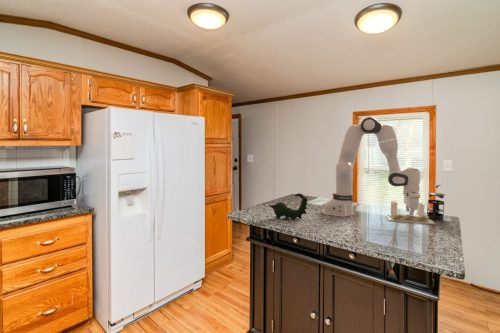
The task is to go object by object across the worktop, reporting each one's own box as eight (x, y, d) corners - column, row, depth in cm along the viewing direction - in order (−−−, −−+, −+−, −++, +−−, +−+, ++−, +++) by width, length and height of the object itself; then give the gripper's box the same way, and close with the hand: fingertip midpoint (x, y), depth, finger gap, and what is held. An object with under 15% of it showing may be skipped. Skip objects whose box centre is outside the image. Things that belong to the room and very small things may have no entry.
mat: (389, 220, 174) (389, 219, 174) (386, 217, 181) (386, 216, 181) (435, 224, 166) (435, 223, 166) (431, 220, 173) (431, 219, 173)
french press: (442, 222, 170) (444, 186, 168) (424, 219, 177) (426, 185, 174) (445, 218, 179) (447, 184, 176) (428, 215, 185) (430, 182, 183)
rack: (389, 216, 183) (390, 202, 182) (388, 214, 188) (388, 200, 187) (426, 219, 176) (427, 204, 175) (424, 217, 181) (424, 202, 180)
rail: (393, 219, 175) (393, 214, 175) (392, 217, 178) (392, 213, 178) (428, 221, 169) (428, 217, 169) (427, 220, 172) (427, 216, 171)
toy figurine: (304, 219, 183) (269, 215, 187) (307, 193, 181) (271, 188, 185) (305, 224, 174) (267, 219, 178) (308, 195, 172) (270, 191, 176)
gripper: (401, 189, 182) (400, 208, 184) (409, 195, 163) (407, 217, 165) (412, 189, 181) (410, 209, 182) (421, 196, 161) (419, 218, 163)
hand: (409, 213), depth 173 cm, fingers open, 8 cm apart
